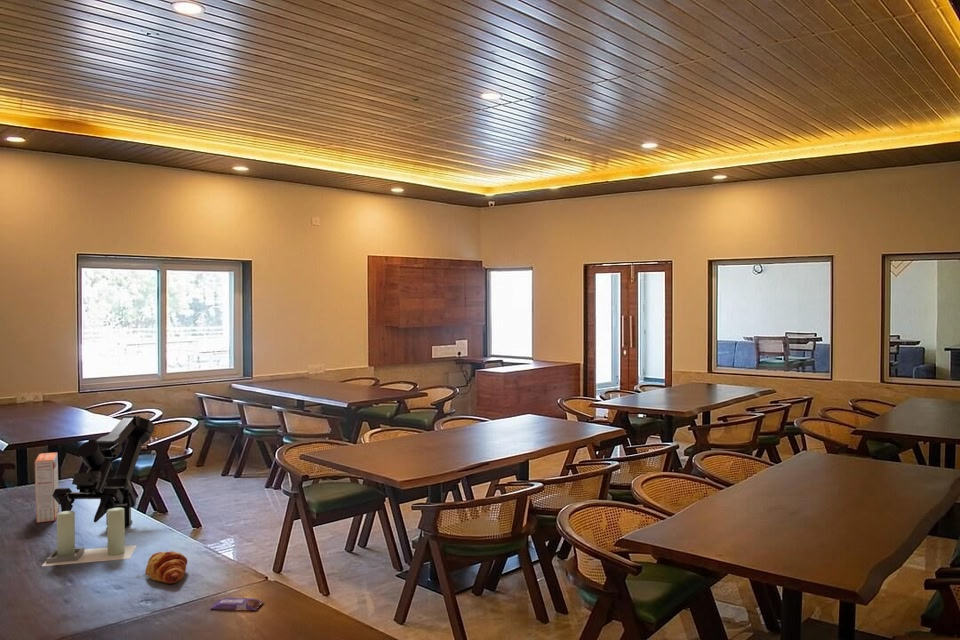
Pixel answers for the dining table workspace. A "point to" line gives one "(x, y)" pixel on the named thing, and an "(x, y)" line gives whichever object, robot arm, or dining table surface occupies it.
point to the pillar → (66, 534)
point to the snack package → (237, 603)
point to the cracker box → (46, 487)
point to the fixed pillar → (115, 531)
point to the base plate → (87, 556)
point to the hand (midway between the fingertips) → (78, 522)
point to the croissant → (166, 566)
